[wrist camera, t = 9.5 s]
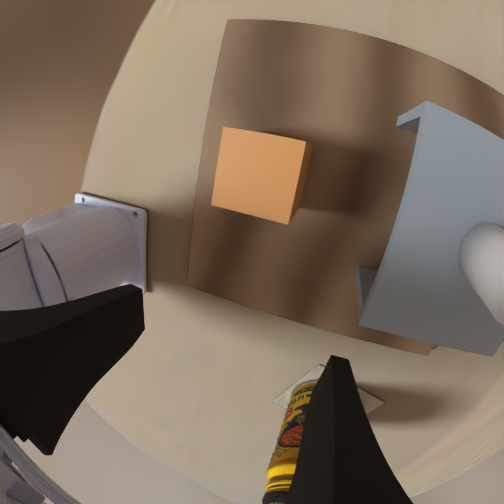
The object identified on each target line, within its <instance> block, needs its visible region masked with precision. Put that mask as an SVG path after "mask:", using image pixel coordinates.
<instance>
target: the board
mask: <svg viewBox="0 0 504 504" xmlns="http://www.w3.org/2000/svg"><path fill="white" fill-rule="evenodd" d="M425 101H429V102H431V103H434V104H436V105H438V106H441V107H443V108H445V109H447V110H450V111H452V112H454V113H456V114H458V115H460V116H462V117H464V118H466V119H468V120H470V121H472V122H474V123H475V124H477V125H479V126H481V127H483V128H485V129H486V130H488V131H490V132H491V133H493V134H495V135H496V136H498V137H500V138H501V139H503V140H504V95H503V94H501V93H500V92H498V91H497V90H495V89H493V88H492V87H490V86H488V85H487V84H485V83H483V82H482V81H480V80H478V79H476V78H474V77H473V76H471V75H469V74H467V73H465V72H463V71H461V70H459V69H457V68H455V67H453V66H451V65H449V64H447V63H445V62H442V61H440V60H438V59H436V58H433V57H431V56H428V55H426V54H423V53H421V52H418V51H416V50H413V49H410V48H407V47H405V46H402V45H399V44H396V43H393V42H389V41H386V40H383V39H379V38H376V37H372V36H368V35H365V34H360V33H356V32H352V31H347V30H343V29H338V28H332V27H327V26H320V25H314V24H306V23H298V22H288V21H275V20H250V19H236V20H227V24H226V28H225V32H224V36H223V40H222V45H221V49H220V53H219V58H218V63H217V67H216V72H215V77H214V82H213V87H212V92H211V98H210V103H209V109H208V114H207V120H206V126H205V132H204V138H203V145H202V152H201V158H200V165H199V173H198V180H197V188H196V196H195V205H194V214H193V223H192V233H191V244H190V255H189V268H188V282H187V285H188V286H190V287H193V288H196V289H199V290H202V291H204V292H207V293H210V294H213V295H216V296H219V297H222V298H224V299H227V300H230V301H233V302H236V303H239V304H242V305H245V306H248V307H251V308H254V309H257V310H261V311H264V312H267V313H270V314H273V315H276V316H280V317H283V318H286V319H289V320H293V321H296V322H299V323H303V324H306V325H309V326H313V327H316V328H320V329H323V330H327V331H330V332H334V333H338V334H341V335H345V336H349V337H352V338H356V339H360V340H364V341H368V342H372V343H376V344H380V345H384V346H388V347H392V348H396V349H400V350H405V351H409V352H413V353H418V354H423V355H427V356H428V354H429V353H430V351H431V350H432V348H433V347H434V345H435V344H432V343H428V342H424V341H419V340H415V339H411V338H407V337H403V336H399V335H395V334H391V333H387V332H383V331H380V330H376V329H372V328H368V327H364V326H361V325H359V320H358V302H357V288H356V276H355V273H356V270H357V268H358V265H359V266H362V267H365V268H369V269H372V270H375V271H378V270H379V267H380V264H381V262H382V259H383V256H384V254H385V251H386V248H387V245H388V242H389V239H390V236H391V233H392V230H393V227H394V224H395V221H396V218H397V214H398V211H399V208H400V204H401V201H402V197H403V194H404V190H405V186H406V183H407V179H408V175H409V171H410V167H411V162H412V158H413V153H414V149H415V144H416V139H417V134H416V133H413V132H410V131H408V130H405V129H402V128H399V127H396V125H397V120H398V117H399V116H401V115H402V114H404V113H406V112H408V111H409V110H411V109H413V108H415V107H416V106H418V105H420V104H422V103H424V102H425ZM223 127H228V128H235V129H242V130H249V131H255V132H261V133H266V134H272V135H277V136H282V137H287V138H292V139H297V140H301V141H306V142H309V143H312V144H314V145H313V150H312V155H311V159H310V164H309V169H308V173H307V178H306V182H305V187H304V191H303V196H302V200H301V204H300V208H299V210H298V211H297V213H296V214H295V216H294V217H293V218H292V220H291V221H290V223H289V224H288V225H287V224H283V223H279V222H276V221H272V220H268V219H264V218H260V217H257V216H253V215H249V214H245V213H241V212H237V211H233V210H229V209H225V208H221V207H217V206H213V205H211V203H212V196H213V189H214V182H215V175H216V168H217V162H218V155H219V149H220V143H221V137H222V131H223Z"/></svg>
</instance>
